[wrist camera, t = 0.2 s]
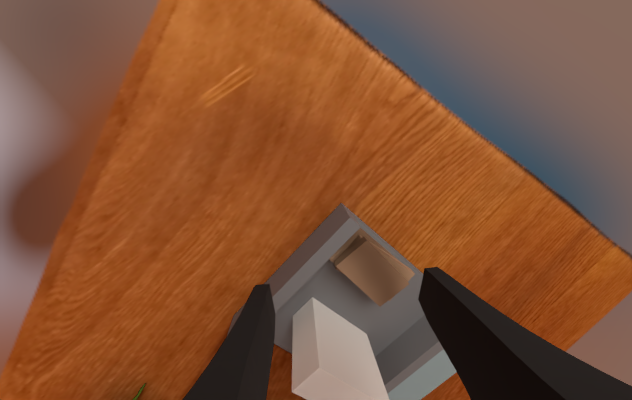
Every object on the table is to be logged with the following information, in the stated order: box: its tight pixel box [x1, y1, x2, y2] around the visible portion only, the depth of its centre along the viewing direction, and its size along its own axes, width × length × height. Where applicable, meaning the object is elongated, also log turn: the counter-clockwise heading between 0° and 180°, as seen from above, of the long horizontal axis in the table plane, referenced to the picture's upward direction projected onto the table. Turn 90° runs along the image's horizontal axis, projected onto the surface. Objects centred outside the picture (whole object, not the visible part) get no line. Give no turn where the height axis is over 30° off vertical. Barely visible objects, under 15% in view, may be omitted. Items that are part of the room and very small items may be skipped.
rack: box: [227, 203, 443, 394], centre depth 22 cm, size 16×17×4 cm
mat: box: [388, 349, 457, 400], centre depth 28 cm, size 12×8×1 cm, turn 138°
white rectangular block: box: [292, 297, 389, 400], centre depth 21 cm, size 3×8×7 cm, turn 48°
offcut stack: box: [329, 227, 415, 307], centre depth 21 cm, size 4×7×2 cm, turn 48°
